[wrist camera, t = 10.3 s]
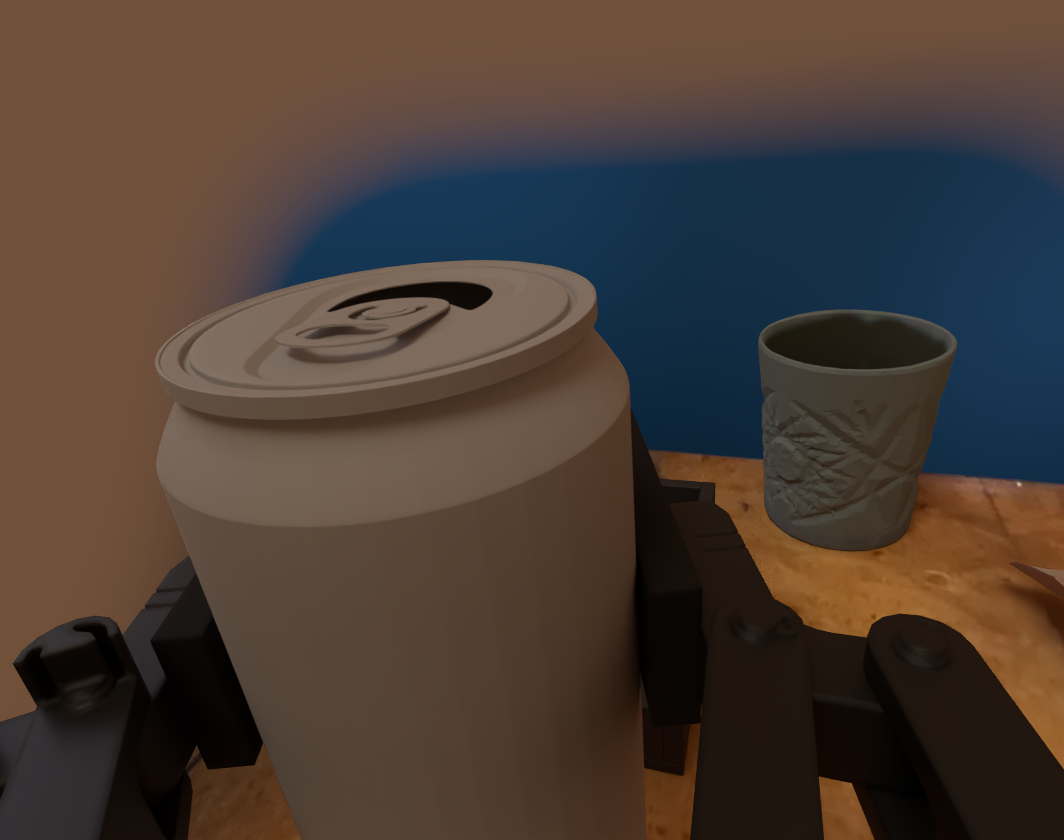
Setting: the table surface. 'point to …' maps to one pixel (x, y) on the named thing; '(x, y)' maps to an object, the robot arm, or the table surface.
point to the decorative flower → (1044, 577)
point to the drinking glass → (849, 422)
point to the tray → (659, 743)
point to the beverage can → (420, 547)
